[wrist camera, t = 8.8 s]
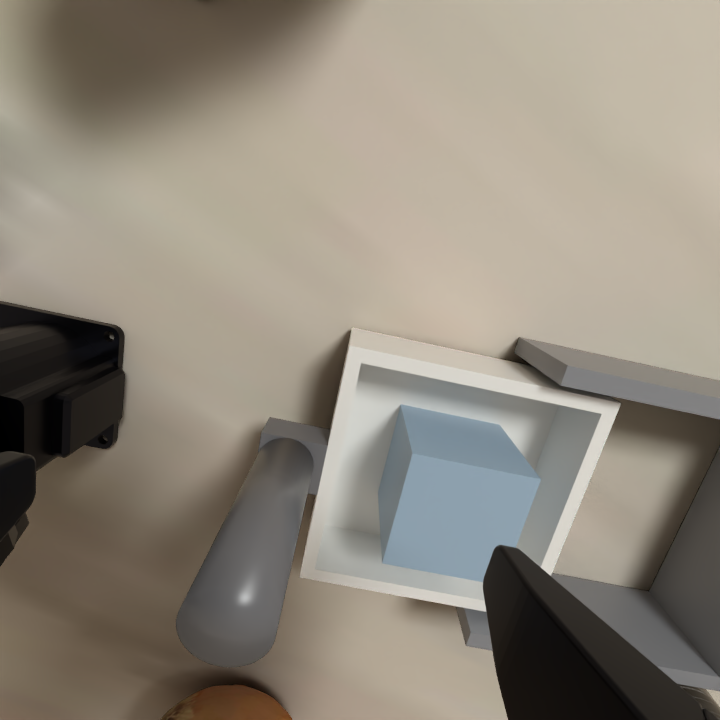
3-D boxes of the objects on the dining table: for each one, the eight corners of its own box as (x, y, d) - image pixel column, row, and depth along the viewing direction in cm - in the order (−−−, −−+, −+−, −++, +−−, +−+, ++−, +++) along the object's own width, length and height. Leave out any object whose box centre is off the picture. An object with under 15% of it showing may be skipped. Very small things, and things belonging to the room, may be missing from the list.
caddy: (259, 514, 23) (156, 779, 11) (294, 314, 20) (203, 405, 9) (506, 561, 23) (639, 855, 12) (575, 375, 21) (834, 533, 9)
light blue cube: (377, 492, 22) (382, 563, 17) (400, 404, 20) (412, 453, 16) (470, 510, 22) (501, 585, 17) (499, 424, 21) (541, 479, 16)
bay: (445, 565, 24) (466, 645, 19) (519, 337, 20) (567, 365, 16) (656, 604, 24) (728, 692, 20) (763, 390, 21) (883, 433, 16)
